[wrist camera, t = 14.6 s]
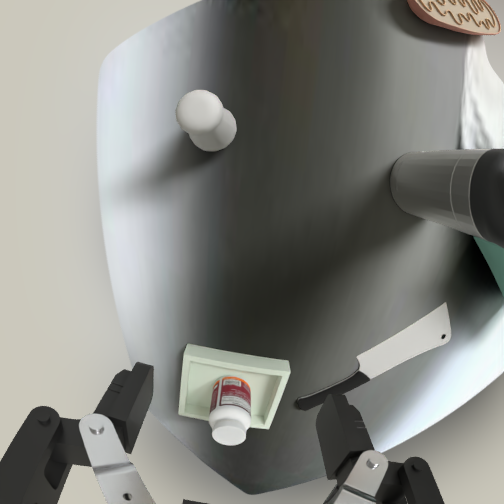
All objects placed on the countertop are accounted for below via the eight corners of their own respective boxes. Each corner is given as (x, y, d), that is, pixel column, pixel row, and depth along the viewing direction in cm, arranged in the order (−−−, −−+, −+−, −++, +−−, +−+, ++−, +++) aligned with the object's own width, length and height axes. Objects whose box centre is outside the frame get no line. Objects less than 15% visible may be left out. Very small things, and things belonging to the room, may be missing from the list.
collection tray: (288, 360, 44) (290, 372, 41) (268, 417, 47) (268, 429, 45) (187, 343, 43) (183, 354, 40) (181, 403, 47) (178, 414, 44)
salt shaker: (214, 161, 36) (195, 155, 24) (183, 132, 35) (151, 114, 22) (247, 130, 35) (244, 108, 22) (215, 101, 34) (198, 67, 21)
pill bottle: (228, 404, 46) (224, 452, 35) (205, 383, 44) (196, 431, 34) (258, 390, 45) (259, 440, 34) (236, 367, 43) (232, 417, 33)
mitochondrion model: (474, 5, 26) (487, -2, 21) (493, 46, 29) (508, 40, 24) (388, -11, 28) (400, -24, 23) (412, 35, 30) (427, 24, 25)
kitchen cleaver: (446, 295, 41) (455, 339, 42) (441, 292, 42) (450, 336, 44) (282, 380, 44) (305, 418, 46) (282, 375, 46) (304, 412, 47)
